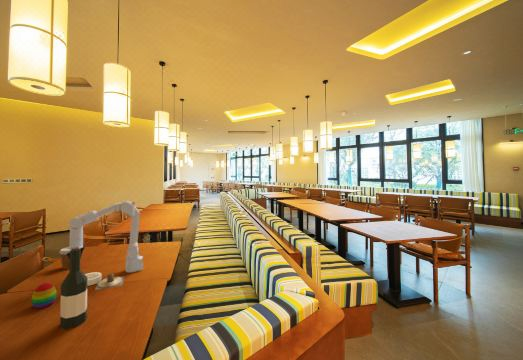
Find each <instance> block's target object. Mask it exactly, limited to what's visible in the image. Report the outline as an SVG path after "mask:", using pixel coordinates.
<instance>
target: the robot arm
mask: <svg viewBox="0 0 523 360" xmlns="http://www.w3.org/2000/svg"><path fill="white" fill-rule="evenodd" d="M112 212H121V213H124V214H126V215H128V216H129V217H131V218H130V219H131V221H130V230H129V231H130V233H129V243H128V245H129V246H128V247H127V251H126V257H125V273H134V272H139V271H143V269H144V263H143V262H144V261H143V259H144V256H143V255H140V254H139V245H138V243H139V242H138V241H139V227H140V215H141V213H140V211H139V209H138V208H137V207H136V206H135V204H134V203H133V202H131V201H130V200H124V201H123V202H122V201H119V202H117V203H114V204H112V205H109V206H106V207H104V208H102V209H100V210H97V211H96V210H88V211H87V212H86V213H84V214H83V213H82V214H78V216H75V217H73V218H72V219H70V220H69V222H68V226H69V246H67V247H66V248H67V249H70V250H71V249H72V248H75V247H79V249H81V255H80V260H81V259H82V255H83V251H84V250H85V249H86V246H84V244H83V243H84V225H88V224H91V223H92V222H94V221H97V220H99V217H102V216H103V215H107V214H110V213H112ZM67 256H68V257H69V259H70V253H67Z"/></svg>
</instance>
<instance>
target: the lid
mask: <svg viewBox="0 0 523 360" xmlns="http://www.w3.org/2000/svg"><path fill="white" fill-rule="evenodd" d="M114 275H115V274H114V273H108V274H107V277H106V278H104V279H101V281H100V282H99V283H98V286H99V287H102V288H104V289H107V288H106V287H110V288H113V287H112V286H115V285H118V284H120V283H121V282H122V278H121V277H122V276H114ZM115 287H116V286H115Z"/></svg>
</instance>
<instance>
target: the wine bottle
mask: <svg viewBox="0 0 523 360" xmlns="http://www.w3.org/2000/svg"><path fill="white" fill-rule="evenodd" d="M80 255H81V249H79V247H75V248H72V249H71V250H70V265H69V269H68V270H69V271H68V273H67V275H66V277H65V278H64V280H63V281H62V282H61V284H60V309H59V310H60V314H59V315H60V316H59V317H60V318H59V319H60V320H59V323H60V324H59V327H60V328H62V329H64V330H67V329H72V328H77V327H78V326H80V325H82V324H85V322H86V321H87V319H88V313H87V312H88V286H87V280H88V278H87V277H86V275H85V274H86V273H84V272H83V271H82V269H81V259H80Z"/></svg>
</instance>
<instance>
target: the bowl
mask: <svg viewBox="0 0 523 360" xmlns="http://www.w3.org/2000/svg"><path fill="white" fill-rule="evenodd" d="M84 274H85V275H86V277H87V278H88V280H87V287H89V286H93V285H97V283H98V282H100V281H101V280H103V279H102V275H103V274H102V273H101V272H99V271H98V272H97V271H95V272H89V273H84Z"/></svg>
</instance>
